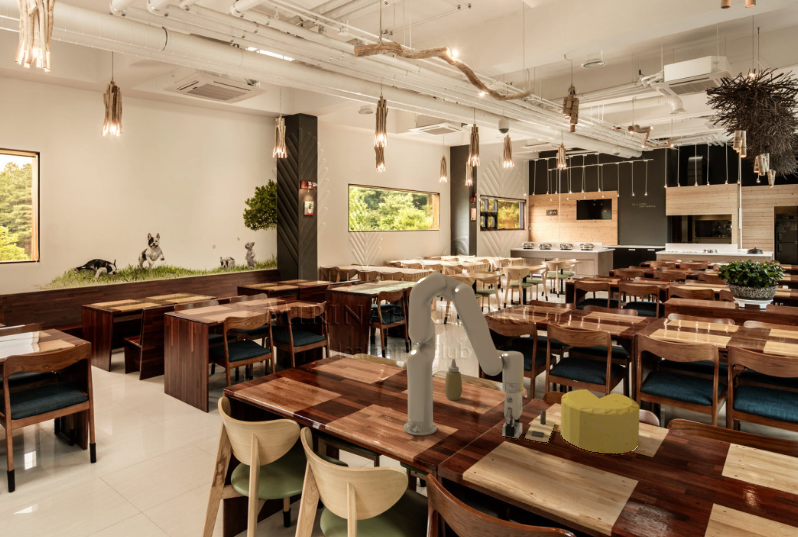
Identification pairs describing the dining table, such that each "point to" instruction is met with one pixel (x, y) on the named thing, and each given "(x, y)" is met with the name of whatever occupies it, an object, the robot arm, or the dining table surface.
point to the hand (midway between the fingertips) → (512, 431)
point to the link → (517, 429)
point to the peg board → (540, 428)
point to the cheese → (600, 422)
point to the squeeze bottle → (453, 382)
